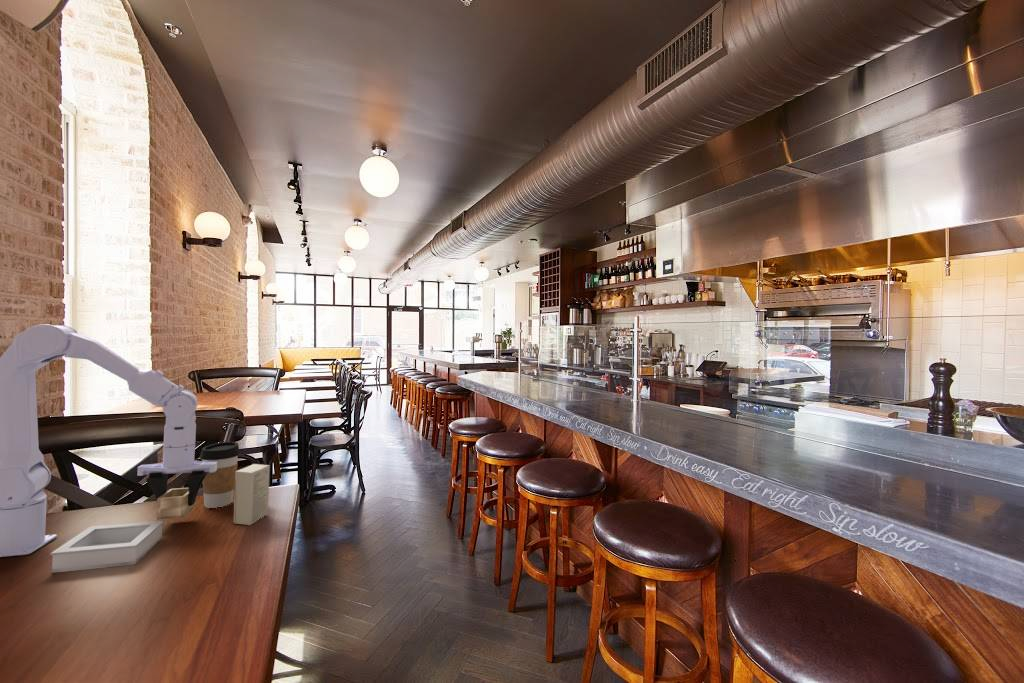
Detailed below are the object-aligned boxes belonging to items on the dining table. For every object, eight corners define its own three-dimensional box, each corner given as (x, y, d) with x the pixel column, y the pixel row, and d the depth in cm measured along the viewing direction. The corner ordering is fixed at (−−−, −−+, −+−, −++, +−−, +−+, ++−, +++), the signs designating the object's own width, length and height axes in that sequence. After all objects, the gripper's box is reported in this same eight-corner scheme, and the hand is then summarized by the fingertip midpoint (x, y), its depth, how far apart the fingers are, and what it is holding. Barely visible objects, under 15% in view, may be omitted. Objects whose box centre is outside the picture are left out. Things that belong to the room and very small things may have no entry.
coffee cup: (246, 501, 113) (248, 443, 113) (214, 513, 105) (216, 450, 105) (222, 496, 116) (224, 440, 116) (189, 507, 108) (191, 446, 108)
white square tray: (49, 573, 77) (50, 553, 77) (89, 544, 88) (90, 526, 88) (135, 564, 81) (136, 545, 81) (163, 537, 92) (163, 520, 92)
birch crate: (156, 519, 95) (157, 498, 95) (169, 508, 101) (170, 488, 101) (184, 517, 96) (184, 496, 96) (195, 506, 102) (195, 487, 102)
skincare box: (252, 513, 106) (254, 463, 106) (269, 515, 105) (270, 464, 105) (232, 524, 99) (234, 470, 99) (249, 526, 99) (251, 472, 99)
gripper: (131, 450, 92) (128, 514, 92) (210, 447, 97) (208, 509, 97) (147, 442, 99) (144, 502, 99) (221, 440, 104) (218, 498, 104)
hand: (176, 505), depth 98 cm, fingers closed on birch crate, 5 cm apart
